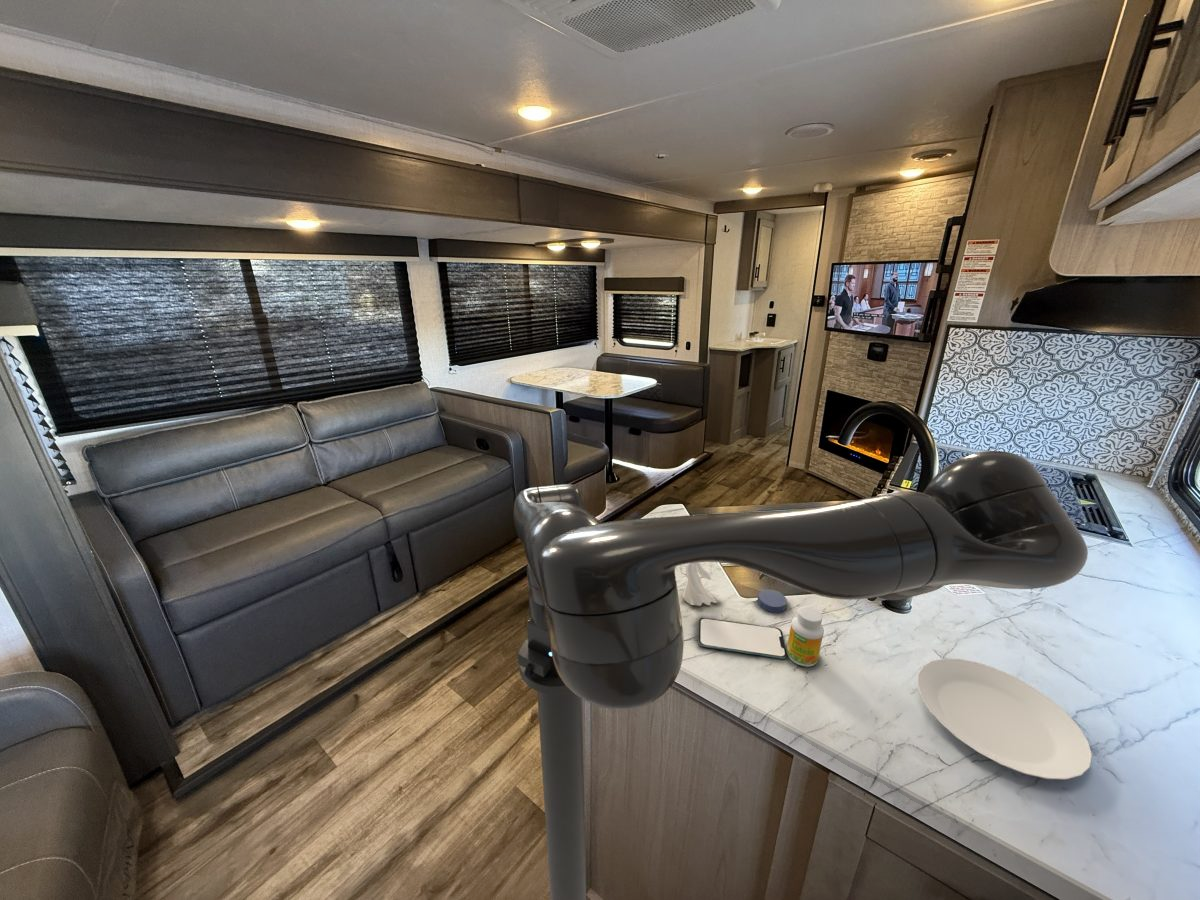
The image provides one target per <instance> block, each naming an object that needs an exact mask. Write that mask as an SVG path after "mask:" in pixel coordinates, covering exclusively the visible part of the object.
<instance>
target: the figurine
mask: <svg viewBox="0 0 1200 900" xmlns="http://www.w3.org/2000/svg"><path fill="white" fill-rule="evenodd" d="M700 563H701V562H697V563H688V564H684V569H685V573H686V577H687V580H686V581H687V582H686V585H685V587H684V589H683V592H682V598H683V599H684V601H685V602H687V603H688V604H689V605H690V606H699V607H701V606H702V605H703V604H704V605H706V606H711V603H714V604H717V603H718V601H717V600H716V599H715V598H714V597H713V595H712V594H711V593H709V591H707V589H706V588H705V586H704V585H703V582H702V580H701V578H703V579H706V580H712V579H711V576H710V574H709V572H708V571H707V570H706V569H704V567H703V566H702V565H701V564H700Z"/></svg>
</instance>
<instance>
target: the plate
mask: <svg viewBox="0 0 1200 900" xmlns="http://www.w3.org/2000/svg"><path fill="white" fill-rule="evenodd" d="M916 684H917V688H918V692H919V696H920V698H921V699H922V701H923V702H924V704H925V706H926V708H927V709H928V711H930V713H931V714H932V715H933V716H934V717H935V719H936V720H937V721H938V722H939V723H940V724H941V725H942V726H943V727H944V728H945V729H946V730H948V732H950V733H951V734H952V735H953V736H954V737H955V738H956V739H958V740H959V741H960V742H962V743H964V744H965V745H966V746H968V747H969V748H971V749H972V750H974V751H975V752H977V753H978V754H980V755H982V756H984V757H986V758H987V759H990V760H991V761H994V762H995V763H997V764H999V765H1001V766H1003V767H1006V768H1008V769H1011V770H1013V771H1016V772H1018V773H1021V774H1024V775H1028V776H1032V777H1036V778H1041V779H1044V780H1045V779H1046V780H1064V781H1065V780H1070V779H1074V778H1077V777H1081V776H1082V775H1084V774H1085V773H1086V772H1087V771H1089V769H1090V768H1091V764H1092V759H1093V754H1092V750H1091V747H1090V742H1089V741H1088V738H1086V736H1085V734H1084V732H1083V731H1082V729H1081V728H1080V726H1079V725H1078V724H1077V723H1076V721H1074V720H1073V718H1072V717H1071V716H1070V715H1069V714H1068V713H1067V712H1066V711H1065V710H1064V709H1063V708H1061V707H1060V706H1059V705H1058V704H1057V703H1056V702H1055V701H1053V700H1052V699H1051V698H1050V697H1048V696H1047V695H1045V694H1044V693H1042V692H1041V691H1040V690H1038V689H1037V688H1035V687H1034V686H1032V685H1030V684H1029V683H1026V682H1025V681H1023V680H1021V679H1020V678H1018V677H1016V676H1014V675H1012V674H1010V673H1007V672H1005V671H1004V670H1003V671H1002V670H1001V669H998V668H996V667H993V666H990V665H986V664H983V663H981V662H977V661H974V660H973V661H972V660H968V659H967V660H966V659H963V658H962V659H961V658H940V659H935V660H934V659H933V660H931V661H929V662H927V663H926V664H923V666H922V667H921V669H920V670H919V671H918V673H917V681H916Z"/></svg>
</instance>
